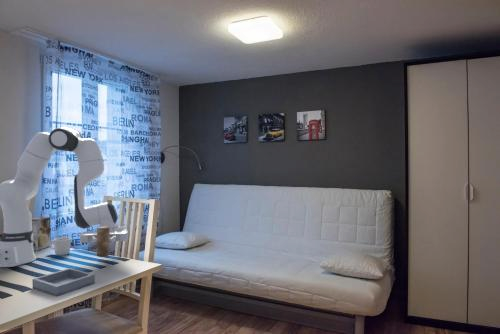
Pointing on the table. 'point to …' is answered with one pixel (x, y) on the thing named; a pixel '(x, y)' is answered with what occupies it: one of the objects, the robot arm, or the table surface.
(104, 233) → the walnut cylinder
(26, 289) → the table surface
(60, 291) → the box
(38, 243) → the coffee box
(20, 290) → the table surface
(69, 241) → the cup
